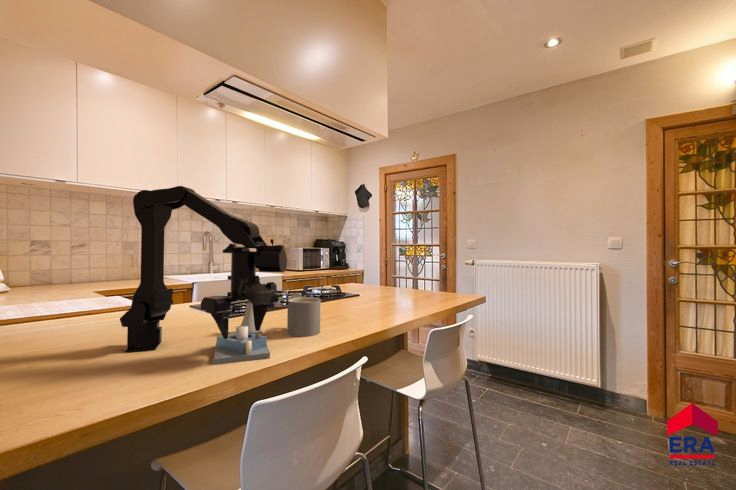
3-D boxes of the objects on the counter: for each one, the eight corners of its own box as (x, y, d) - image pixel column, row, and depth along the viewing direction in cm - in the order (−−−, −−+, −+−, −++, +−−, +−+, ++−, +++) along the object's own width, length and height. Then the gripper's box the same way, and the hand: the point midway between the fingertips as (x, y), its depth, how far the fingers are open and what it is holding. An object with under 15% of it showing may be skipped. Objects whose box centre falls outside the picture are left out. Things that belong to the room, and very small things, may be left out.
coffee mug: (325, 334, 98) (325, 301, 98) (293, 338, 93) (294, 303, 93) (309, 324, 109) (309, 295, 109) (279, 328, 104) (280, 297, 104)
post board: (213, 364, 71) (214, 336, 71) (216, 346, 84) (216, 322, 84) (269, 358, 76) (270, 331, 76) (264, 341, 89) (264, 319, 89)
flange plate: (266, 347, 80) (266, 336, 81) (242, 354, 75) (242, 343, 75) (240, 340, 86) (241, 330, 86) (216, 347, 80) (216, 336, 80)
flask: (257, 335, 95) (258, 301, 95) (233, 335, 95) (234, 301, 95) (266, 329, 102) (266, 298, 102) (243, 329, 103) (244, 297, 103)
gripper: (230, 276, 68) (228, 350, 68) (294, 271, 84) (293, 331, 84) (200, 273, 74) (198, 341, 74) (265, 269, 90) (264, 325, 90)
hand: (242, 334), depth 80 cm, fingers open, 9 cm apart
